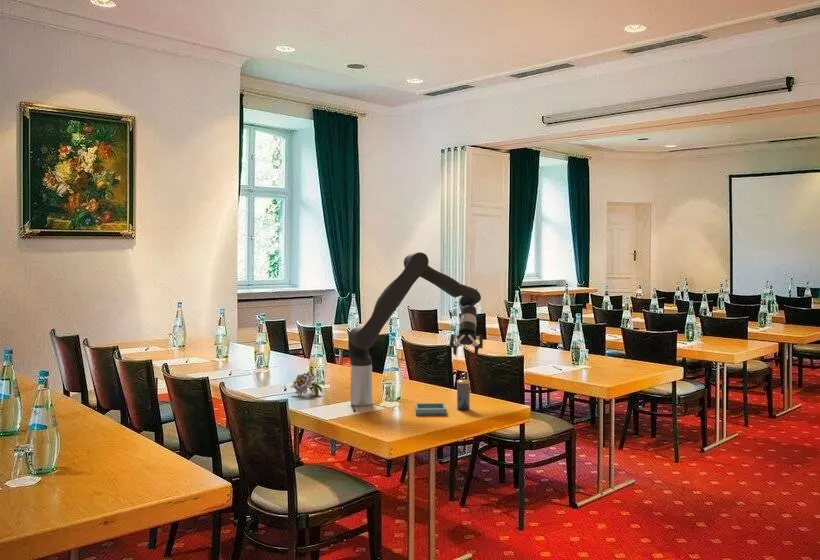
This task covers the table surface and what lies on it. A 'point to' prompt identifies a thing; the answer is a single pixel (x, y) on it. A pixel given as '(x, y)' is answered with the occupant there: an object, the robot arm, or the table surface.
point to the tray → (430, 409)
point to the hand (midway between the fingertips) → (465, 354)
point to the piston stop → (463, 395)
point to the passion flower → (306, 384)
